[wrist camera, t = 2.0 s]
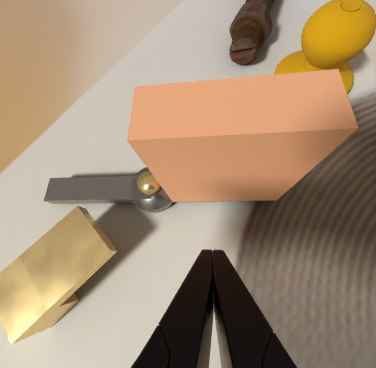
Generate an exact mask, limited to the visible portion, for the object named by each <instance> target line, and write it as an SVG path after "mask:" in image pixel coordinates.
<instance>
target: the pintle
mask: <svg viewBox="0 0 376 368" xmlns="http://www.w3.org/2000/svg"><path fill="white" fill-rule="evenodd" d="M137 186H138V188H139V189H140V190H141V191H142V192H143V193H144V194H145V195H147V196H155V195H157V194H158V193H159V192H160V191H161V189H162V187H161V185H160V184H159V183H158V181H157V180H156V179H155V177H154V176H153V175H152V173H151V172H150V171H146V172H144V173H142V174H141V175H140V176H139V177H138V180H137Z"/></svg>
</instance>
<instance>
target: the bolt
mask: <svg viewBox="0 0 376 368" xmlns="http://www.w3.org/2000/svg"><path fill="white" fill-rule="evenodd" d="M273 2H274V0H246V3H245V4H244V5H243V6H242V7H241V9H240V10H239V12H238V14H237V15H236V17H235V19H234V20H233V22H232V24H231V27H230V34H231V37H232V40H233V41H232V44H231V47H230V50H229V51H230V53H229V54H230V57H231V60H232V61H233V62H235V63H238V64H242V65H245V64H249V63H250V62H252V61H253V60H254V59H255V58H256V55H257V51H258V48H259V47H260V46H261V45H262V44H263V43H264V42H265V40H266V39H267V38H268V36H269V35H270V34H271V30H272V22H271V17H270V13H269V10H270V7H271V3H273Z"/></svg>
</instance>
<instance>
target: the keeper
mask: <svg viewBox="0 0 376 368" xmlns="http://www.w3.org/2000/svg"><path fill="white" fill-rule="evenodd" d="M116 252H117V250H116V248H115V247H114V246H113V244H112V243H111V242H110V240H109V239H108V238H107V236H106V235H105V234H104V232H103V231H102V230H101V228H100V227H99V226H98V224H97V223H96V222H95V220H94V219H93V218H92V216H91V215H90V214H89V212H88V211H87V210H86V209H84V208H82V207H79V206H77V207H76V208H75V209H74V210H72V211H71V212H70V213H69V214H68V215H67V216H65V217H64V218H63V219H62V220H61V221H60V222H58V223H57V224H56V225H55V226H54V227H53V228H52V229H50V230H49V231H48V232H47V233H46V234H45V235H43V236H42V237H41V238H40V239H39V240H38V241H37V242H35V243H34V244H33V245H32V246H31V247H30V248H28V249H27V250H26V251H25V252H24V253H23V254H22V255H20V256H19V257H18V258H17V259H16V260H15V261H13V262H12V263H11V264H10V265H9V266H8V267H7V268H5V269H4V270H3V271H2V272H1V273H0V319H1V322H2V324H3V326H4V329H5V331H6V334H7V336H8V338H9V341H10V343H11V344H13V343H15V342H18V341H20V340H22V339H25V338H27V337H29V336H32V335H34V334H36V333H38V332H41V331H43V330H45V329H48V328H50V327H52V326H53V325H54V324H55V323H56V322H57V321H58V320H59V319H60V318H61V317H62V316H63V315H64V314H65V313H66V312H67V311H68V310H69V309H70V308H72V307H73V306H74V305H75V304H76V303H77V302H78V301H79V298H78V297H77V295H76V293H75V291H76V290H77V289H78V288H79V287H80V286H81V285H82V284H84V283H85V282H86V281H87V280H88V279H89V278H90V277H91V276H92V275H93V274H94V273H95V272H96V271H97V270H98V269H99V268H100V267H101V266H102V265H103V264H105V263H106V262H107V261H108V260H109V259H110V258H111V257H112V256H113V255H114V254H115V253H116Z"/></svg>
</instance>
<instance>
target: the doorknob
mask: <svg viewBox="0 0 376 368" xmlns="http://www.w3.org/2000/svg"><path fill="white" fill-rule="evenodd" d="M375 29H376V14H375V12H374V10H373V8H372V7H371V6H370V5H369V4H368V3H367V2H365V1H363V0H333V1H330V2H328V3H326V4H325V5H323V6H322V7H320V8H319V9H318V10H317V11H316V12H315V13H314V14H313V15H312V16H311V17H310V18H309V19H308V21H307V22H306V24H305V26H304V28H303V32H302V37H301V45H302V51H298V52H295V53H292V54H290V55H288V56H286V57H285V58H284V59H283V60H281V62H280V63H279V64H278V66H277V68H276V70H275V73H274V75H276V74H287V73H299V72H310V71H322V70H333V69H339V72H340V75H341V78H342V81H343V84H344V87H345V90H346V93H348V92H349V91H350V89H351V87H352V85H353V80H354V77H353V72H352V70H351V68H350V66H349V65H348V64H347V63H346V61H348V60H350V59H352V58H353V57H355V56H356V55H358V54H359V53H360V52H361V51H362V50H363V49H364V48H365V47H366V46H367V45H368V44H369V42H370V41H371V40H372V37H373V36H374V33H375Z"/></svg>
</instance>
